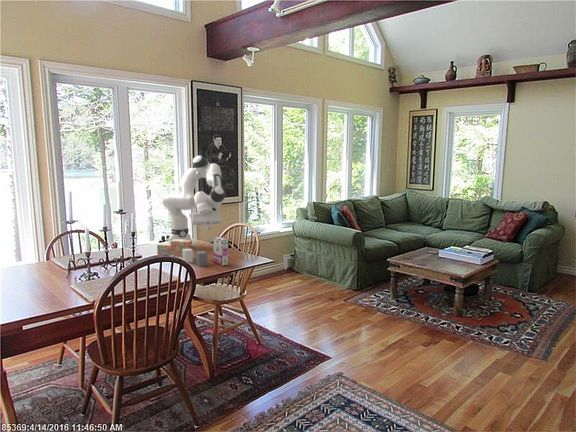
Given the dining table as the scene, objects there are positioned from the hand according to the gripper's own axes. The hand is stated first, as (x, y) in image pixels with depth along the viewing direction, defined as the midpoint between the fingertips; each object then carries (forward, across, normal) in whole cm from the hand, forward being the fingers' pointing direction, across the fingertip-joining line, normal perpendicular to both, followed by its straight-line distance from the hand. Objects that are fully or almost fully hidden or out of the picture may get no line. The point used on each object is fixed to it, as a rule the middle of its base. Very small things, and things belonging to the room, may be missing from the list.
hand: (209, 228), depth 264 cm
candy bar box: (+25, +3, +4) cm, 25 cm away
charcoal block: (+22, -9, +7) cm, 25 cm away
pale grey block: (+15, -14, +14) cm, 25 cm away
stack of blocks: (+6, -19, +23) cm, 31 cm away
